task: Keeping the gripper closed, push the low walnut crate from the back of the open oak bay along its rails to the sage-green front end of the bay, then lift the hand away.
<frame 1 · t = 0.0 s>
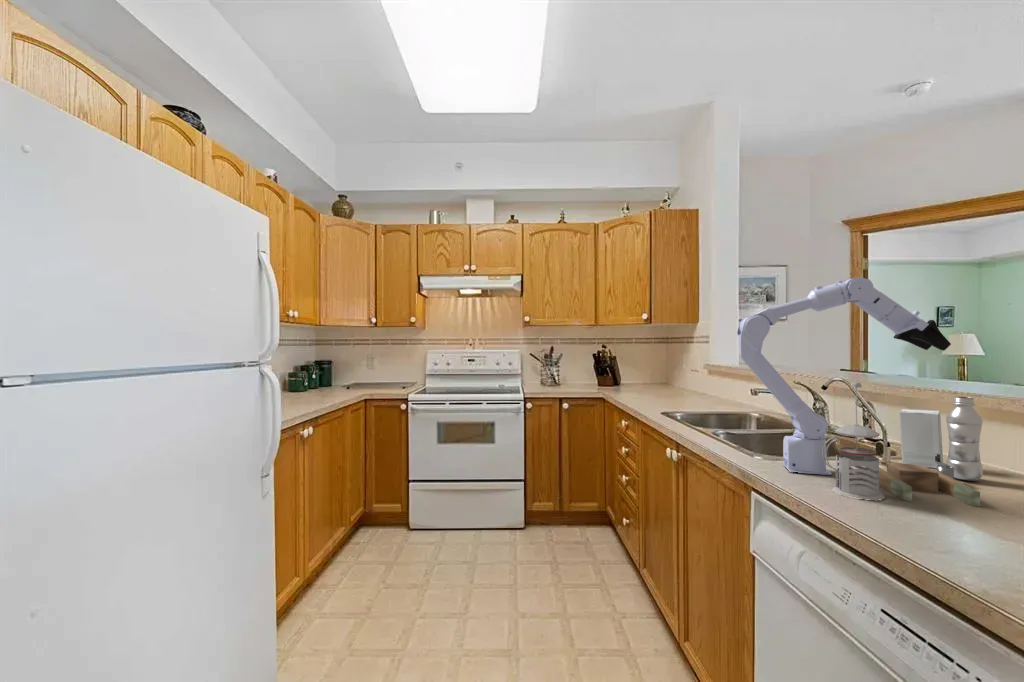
hand: (938, 347, 115), 32 cm above the table, tool tilted 50°, fingers open, 7 cm apart
skincare box: (921, 465, 128), on the table
bay: (920, 490, 106), on the table
crate: (911, 486, 110), on the table
crank handle cylinder: (945, 483, 111), on the table
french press: (853, 494, 105), on the table
silver metal bottle: (964, 480, 114), on the table
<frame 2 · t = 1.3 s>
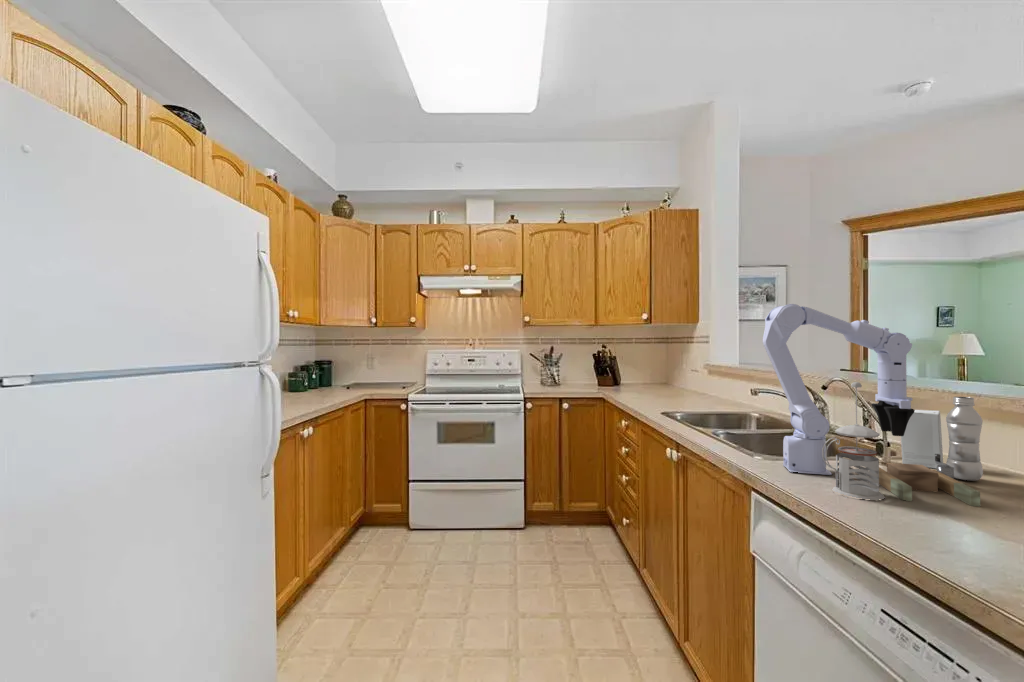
hand: (892, 433, 119), 10 cm above the table, tool pointing down, fingers open, 5 cm apart
nothing on the table moved.
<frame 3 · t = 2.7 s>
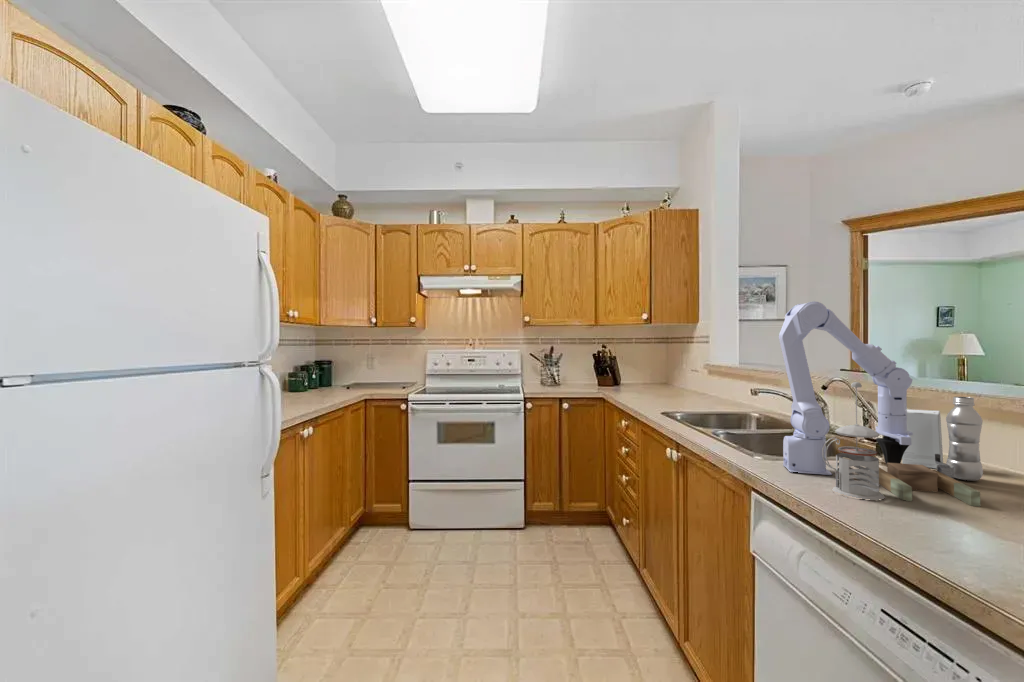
hand: (892, 467, 119), 2 cm above the table, tool pointing down, fingers closed
nothing on the table moved.
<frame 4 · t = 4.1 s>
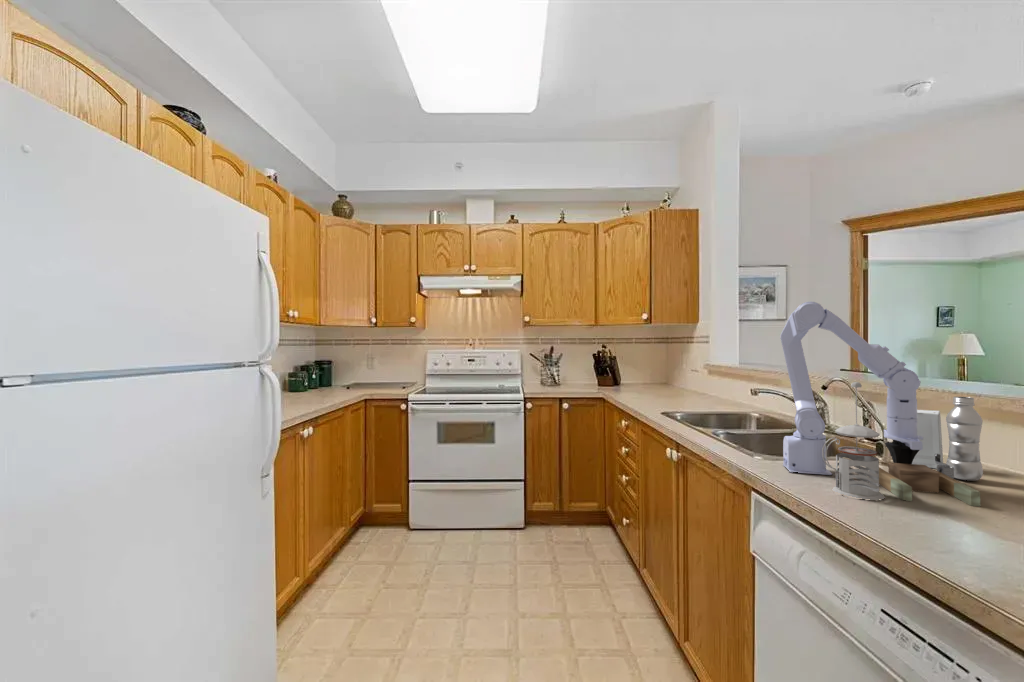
hand: (902, 473, 114), 2 cm above the table, tool pointing down, fingers closed
nothing on the table moved.
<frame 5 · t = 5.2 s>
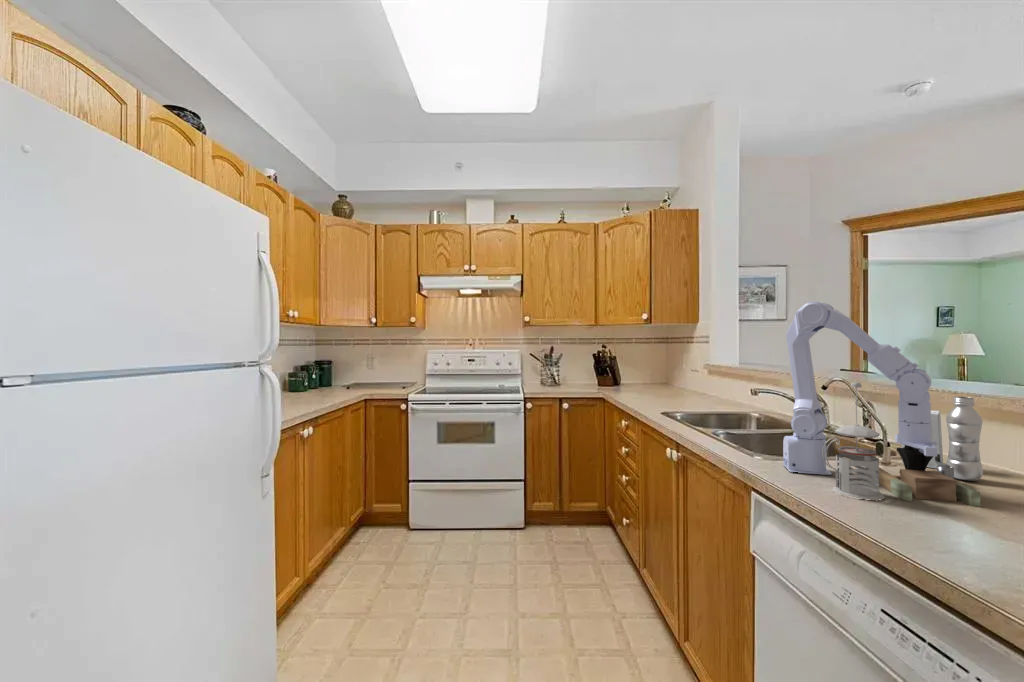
hand: (915, 480, 109), 2 cm above the table, tool pointing down, fingers closed
crate: (927, 494, 104), on the table, touching gripper
everything else where it was.
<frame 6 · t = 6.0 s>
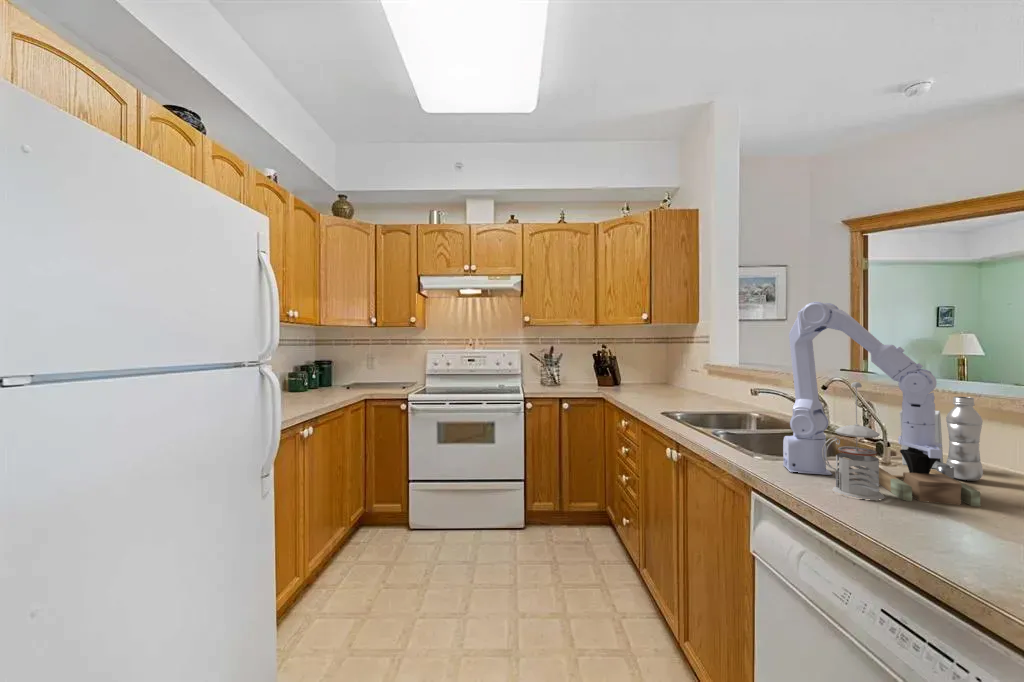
hand: (918, 482, 107), 2 cm above the table, tool pointing down, fingers closed
crate: (931, 498, 102), on the table
everything else where it was.
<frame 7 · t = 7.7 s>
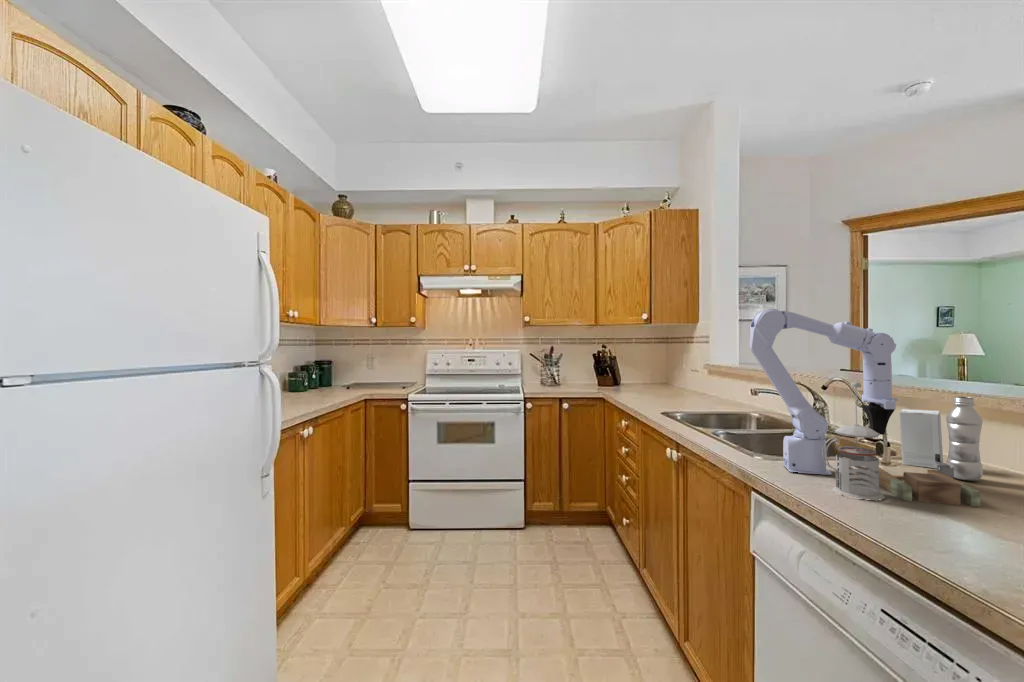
hand: (878, 434, 119), 10 cm above the table, tool pointing down, fingers closed
nothing on the table moved.
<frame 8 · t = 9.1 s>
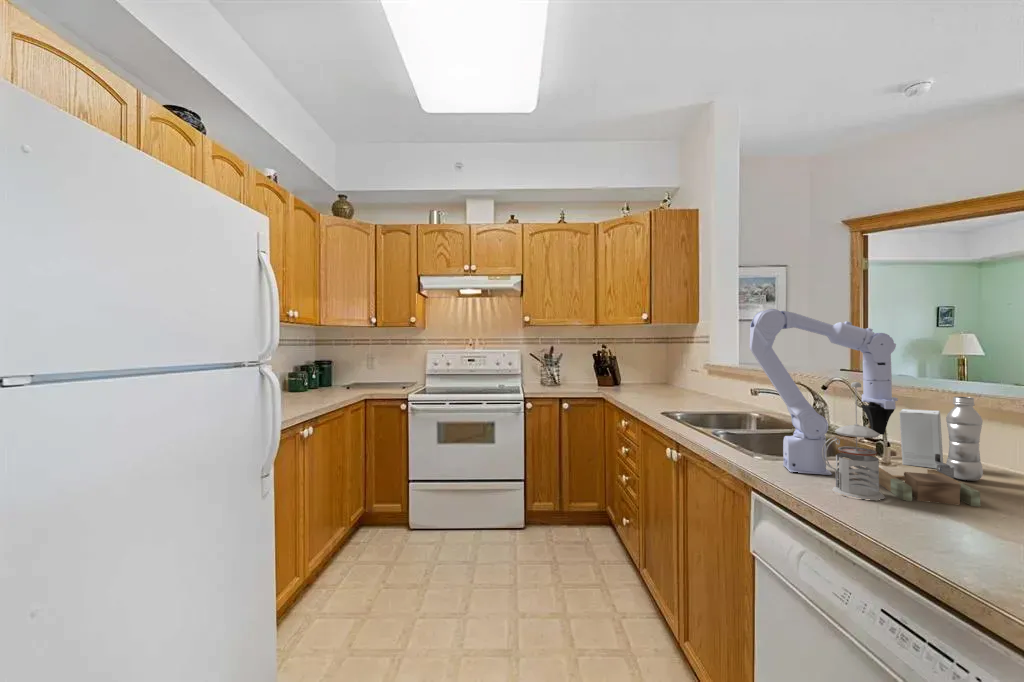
hand: (878, 433, 119), 10 cm above the table, tool pointing down, fingers closed
nothing on the table moved.
at the end: crate inside the target area (1.0 cm from its centre), on the table; crate tilted 0°; crate moved 8.5 cm from its start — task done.
